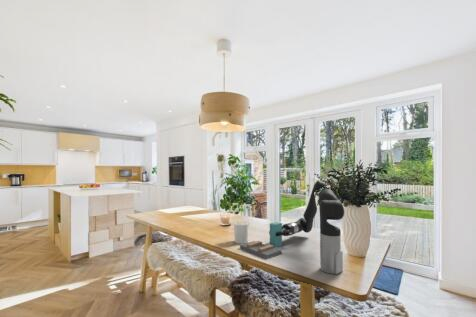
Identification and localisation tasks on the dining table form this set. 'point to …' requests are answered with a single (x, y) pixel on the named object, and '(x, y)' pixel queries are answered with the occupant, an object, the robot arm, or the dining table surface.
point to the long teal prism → (274, 239)
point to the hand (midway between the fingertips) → (273, 233)
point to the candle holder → (241, 232)
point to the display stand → (261, 249)
